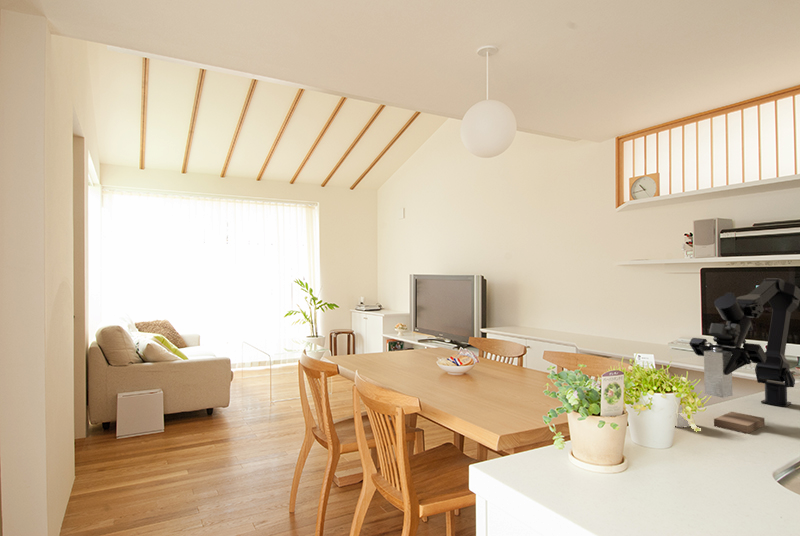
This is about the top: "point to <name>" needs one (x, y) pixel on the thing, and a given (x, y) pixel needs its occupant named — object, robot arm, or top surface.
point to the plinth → (739, 422)
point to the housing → (717, 373)
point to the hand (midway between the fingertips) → (715, 372)
